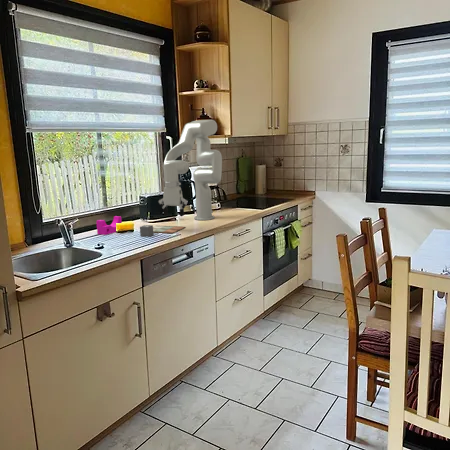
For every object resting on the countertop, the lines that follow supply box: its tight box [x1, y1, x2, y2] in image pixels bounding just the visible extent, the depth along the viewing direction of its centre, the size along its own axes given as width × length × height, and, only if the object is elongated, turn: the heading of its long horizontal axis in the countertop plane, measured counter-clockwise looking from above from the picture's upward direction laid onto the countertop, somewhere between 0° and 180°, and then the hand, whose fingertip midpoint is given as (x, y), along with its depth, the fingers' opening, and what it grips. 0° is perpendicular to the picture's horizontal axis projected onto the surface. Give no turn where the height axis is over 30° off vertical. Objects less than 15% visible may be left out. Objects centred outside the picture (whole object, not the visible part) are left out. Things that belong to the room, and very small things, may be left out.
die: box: [139, 224, 155, 238], centre depth 223 cm, size 5×5×5 cm
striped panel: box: [153, 225, 187, 235], centre depth 235 cm, size 17×18×1 cm
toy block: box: [95, 215, 123, 236], centre depth 236 cm, size 15×6×8 cm, turn 149°
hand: (174, 215), depth 232 cm, fingers open, 9 cm apart
